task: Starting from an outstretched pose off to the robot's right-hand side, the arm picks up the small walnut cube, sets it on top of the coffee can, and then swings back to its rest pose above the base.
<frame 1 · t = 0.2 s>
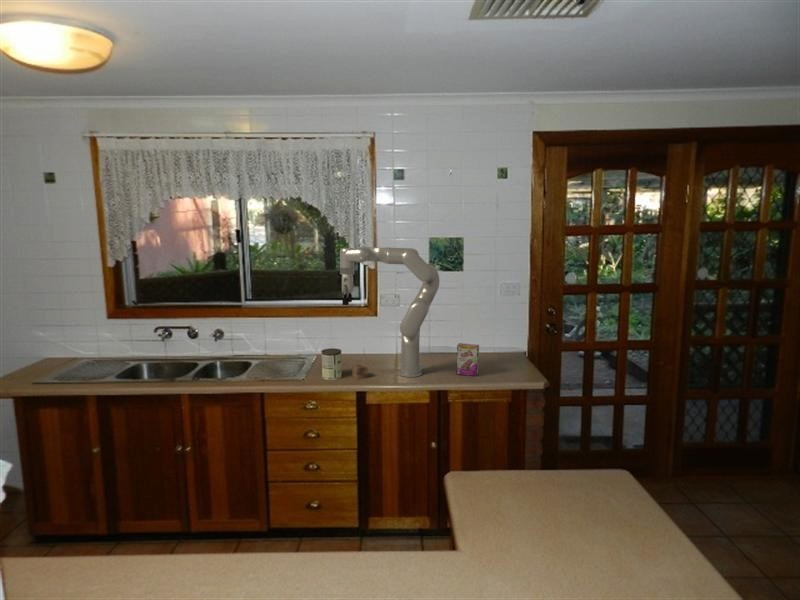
hand: (347, 303, 270), 37 cm above the counter, tool pointing down, fingers open, 9 cm apart
coffee can: (331, 377, 266), on the counter
candy bar box: (467, 374, 272), on the counter
walnut cube: (360, 377, 266), on the counter
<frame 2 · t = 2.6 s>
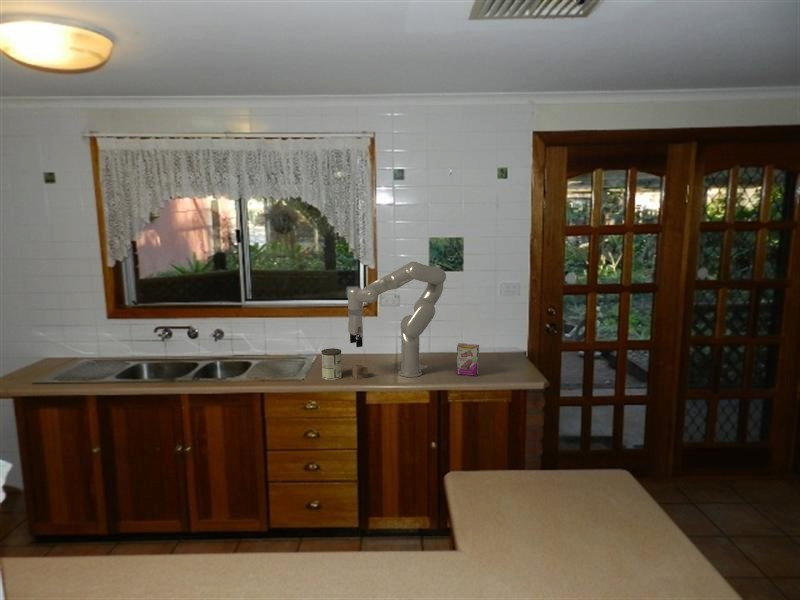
hand: (356, 344, 264), 17 cm above the counter, tool pointing down, fingers open, 9 cm apart
nothing on the counter moved.
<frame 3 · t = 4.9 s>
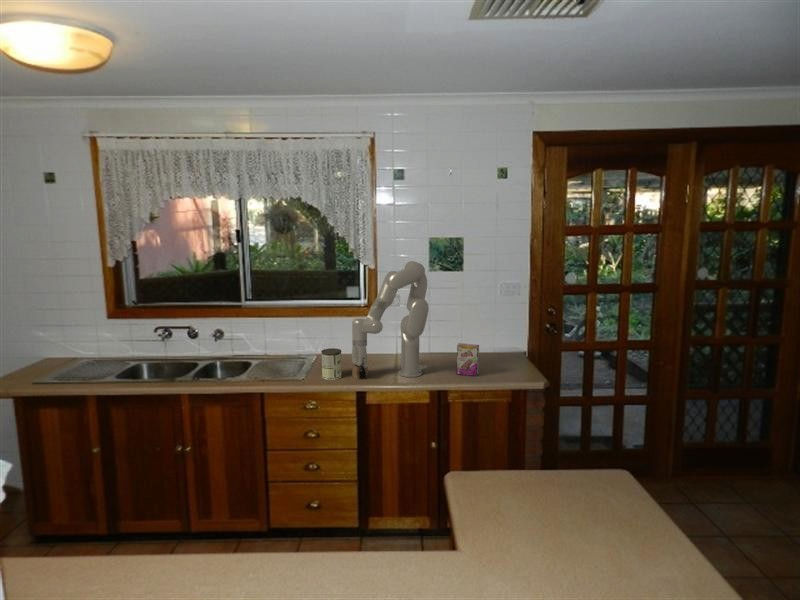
hand: (359, 375, 266), 1 cm above the counter, tool pointing down, fingers closed on walnut cube, 6 cm apart
walnut cube: (359, 377, 266), on the counter, touching gripper
everything else where it was.
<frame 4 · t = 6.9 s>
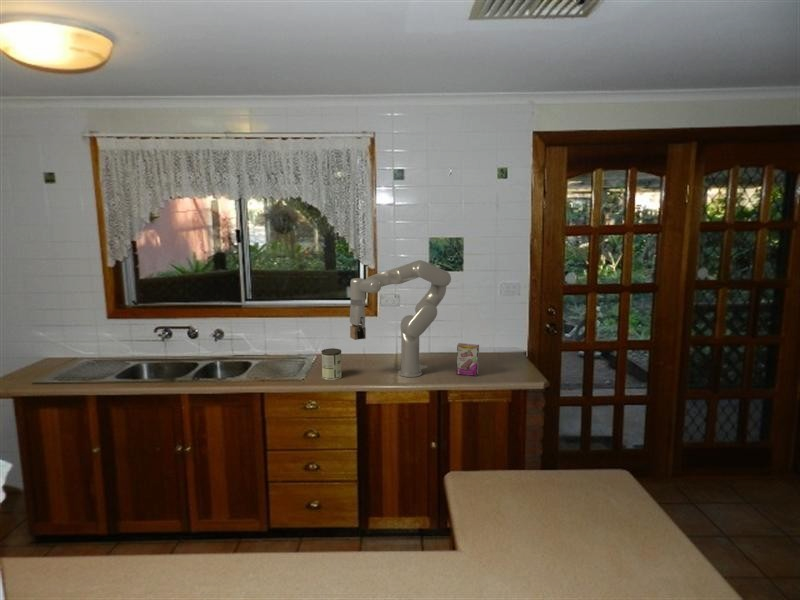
hand: (357, 336, 263), 22 cm above the counter, tool pointing down, fingers closed on walnut cube, 6 cm apart
walnut cube: (357, 338, 263), point 21 cm above the counter, touching gripper
everything else where it was.
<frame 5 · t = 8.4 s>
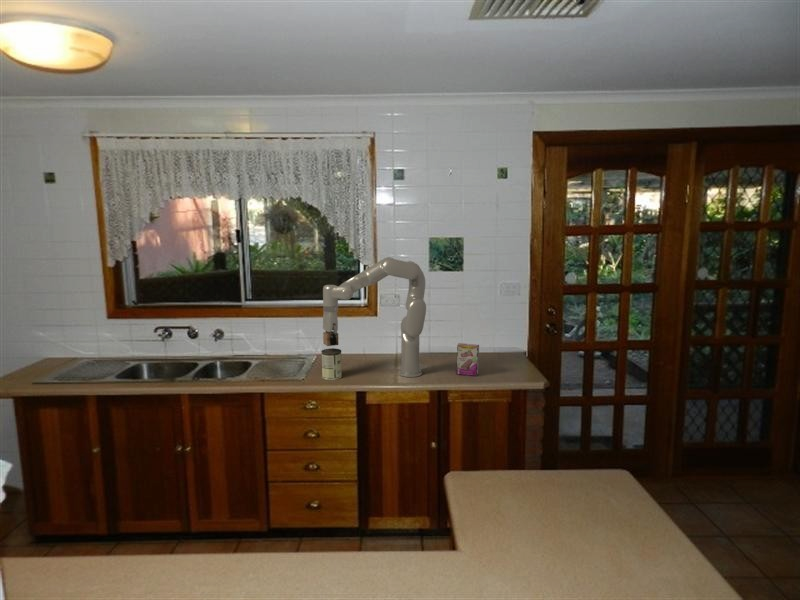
hand: (330, 343, 263), 18 cm above the counter, tool pointing down, fingers closed on walnut cube, 6 cm apart
walnut cube: (330, 344, 263), point 18 cm above the counter, touching gripper
everything else where it was.
when the fingers open (16 cm above the counter, at t = 9.2 s): walnut cube drops 1 cm, resting on coffee can.
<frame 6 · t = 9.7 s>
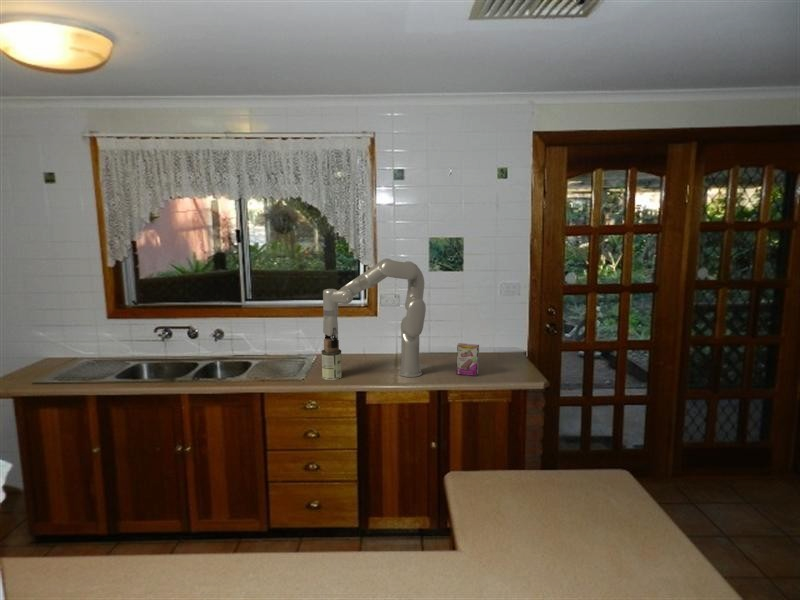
hand: (331, 345, 263), 17 cm above the counter, tool pointing down, fingers open, 9 cm apart
coffee can: (331, 377, 266), on the counter, touching walnut cube
walnut cube: (331, 350, 264), point 14 cm above the counter, touching coffee can
everything else where it was.
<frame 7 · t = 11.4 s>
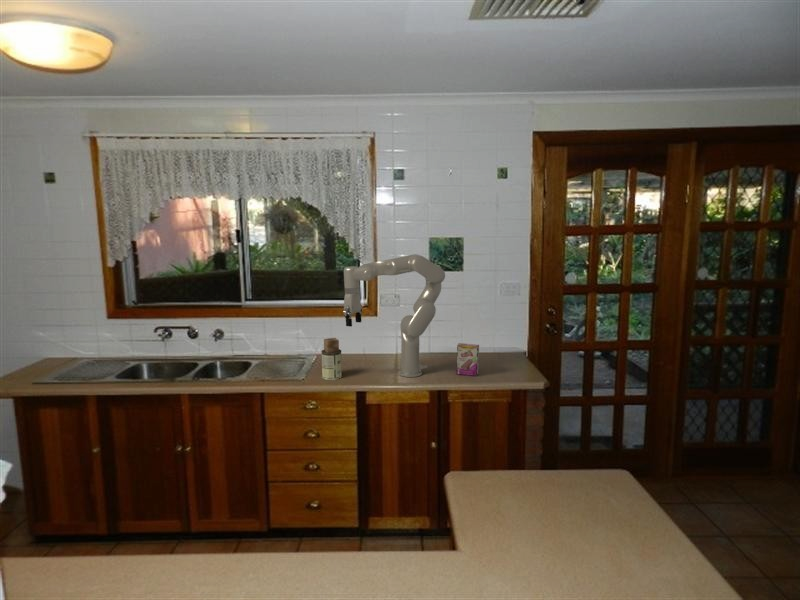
hand: (353, 324, 260), 29 cm above the counter, tool pointing down, fingers open, 9 cm apart
nothing on the counter moved.
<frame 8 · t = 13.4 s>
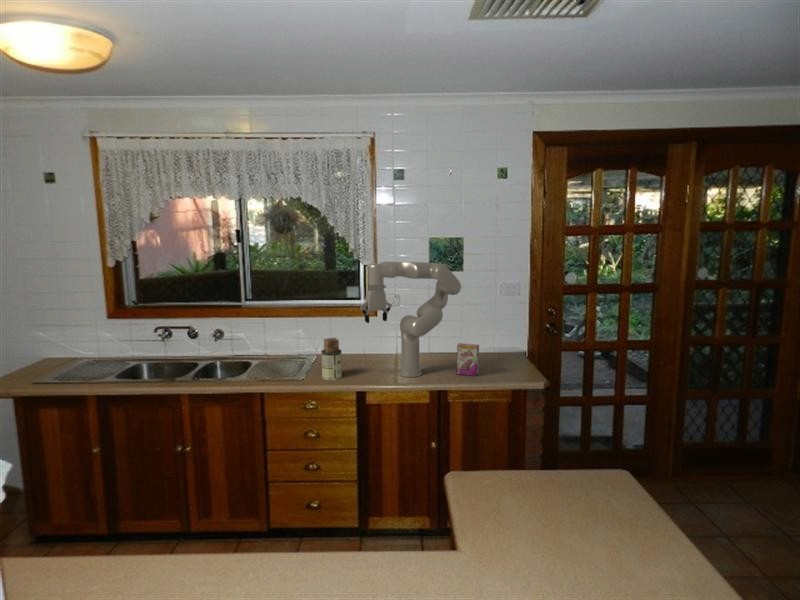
hand: (376, 321, 258), 30 cm above the counter, tool pointing down, fingers open, 9 cm apart
nothing on the counter moved.
at the end: walnut cube 0.0 cm from the coffee can (horizontally); walnut cube point 14.0 cm above the counter; walnut cube tilted 0° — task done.
